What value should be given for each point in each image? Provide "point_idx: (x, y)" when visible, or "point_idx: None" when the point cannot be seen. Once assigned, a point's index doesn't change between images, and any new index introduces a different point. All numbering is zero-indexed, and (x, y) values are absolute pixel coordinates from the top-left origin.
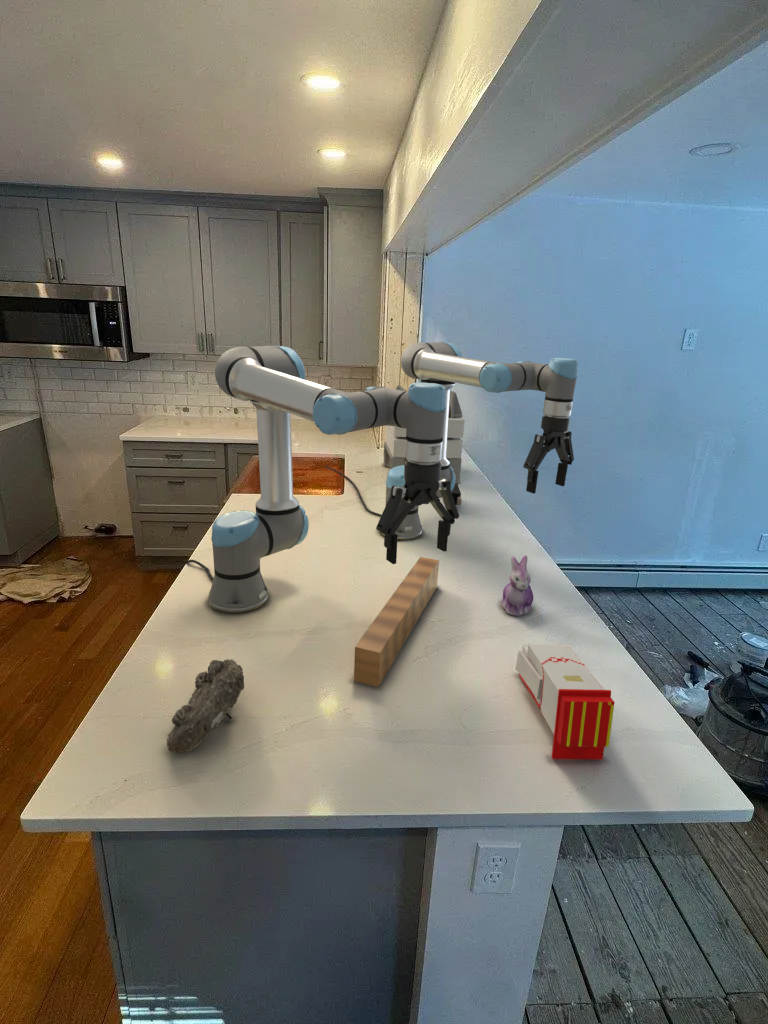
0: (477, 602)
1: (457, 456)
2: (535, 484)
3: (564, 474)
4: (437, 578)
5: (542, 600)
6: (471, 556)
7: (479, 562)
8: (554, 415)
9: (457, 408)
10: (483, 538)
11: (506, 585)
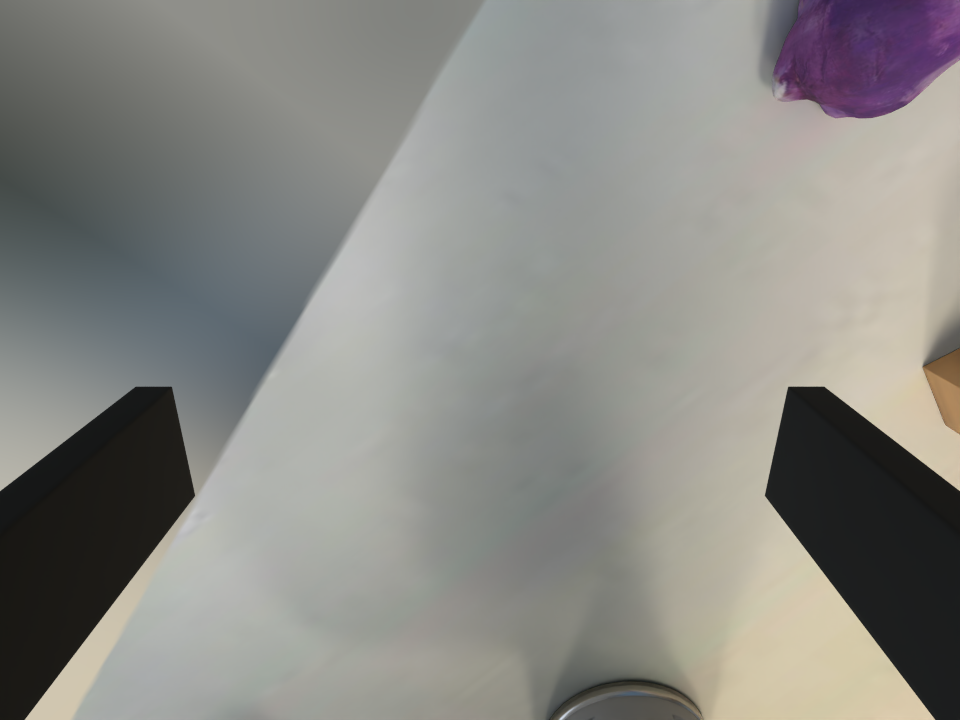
0: (929, 175)
1: None
2: (898, 452)
3: (57, 491)
4: (954, 381)
5: (689, 3)
6: (571, 482)
7: (591, 428)
8: None
9: None
10: (383, 570)
11: (911, 96)
